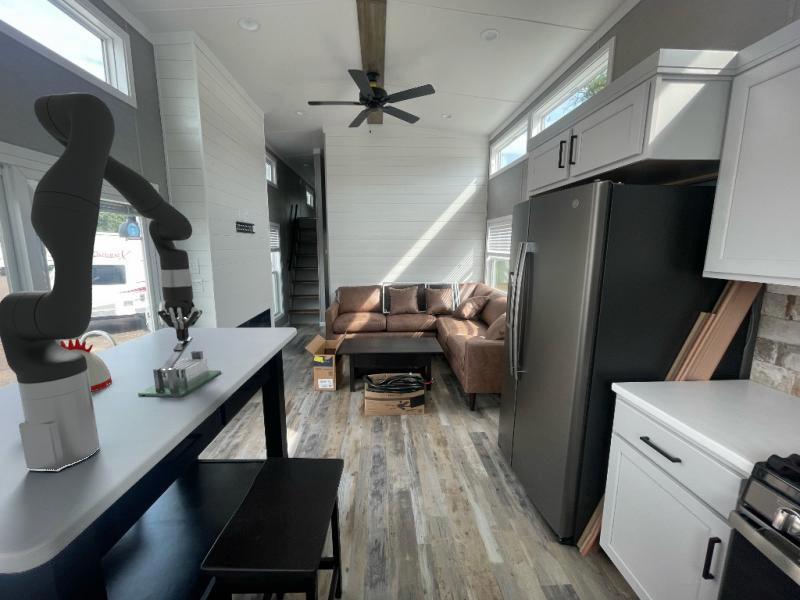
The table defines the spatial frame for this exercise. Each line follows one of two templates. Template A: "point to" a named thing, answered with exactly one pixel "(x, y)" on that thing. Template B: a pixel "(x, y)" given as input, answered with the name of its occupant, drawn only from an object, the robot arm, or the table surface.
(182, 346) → the silver flat bar
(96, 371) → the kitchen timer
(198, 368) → the heatsink
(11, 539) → the table surface
